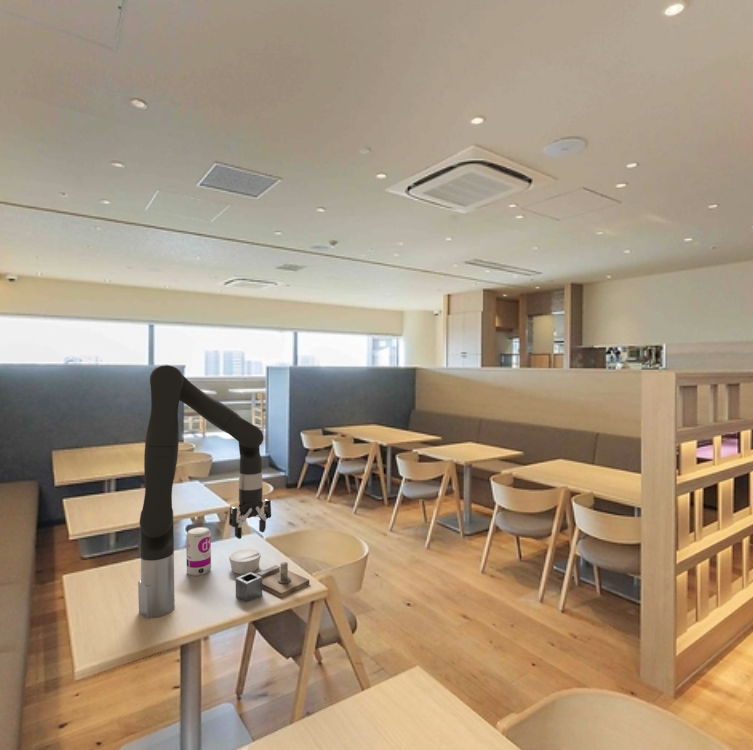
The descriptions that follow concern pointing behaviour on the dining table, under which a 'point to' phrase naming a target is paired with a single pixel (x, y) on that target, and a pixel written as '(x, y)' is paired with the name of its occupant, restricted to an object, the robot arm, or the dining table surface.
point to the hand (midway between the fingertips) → (250, 534)
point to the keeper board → (283, 587)
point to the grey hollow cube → (248, 587)
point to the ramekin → (244, 561)
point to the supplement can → (198, 551)
